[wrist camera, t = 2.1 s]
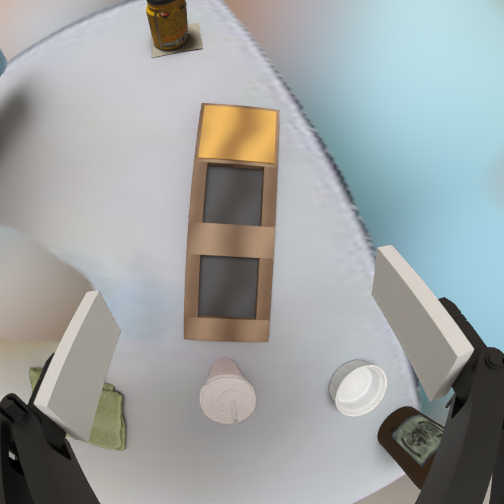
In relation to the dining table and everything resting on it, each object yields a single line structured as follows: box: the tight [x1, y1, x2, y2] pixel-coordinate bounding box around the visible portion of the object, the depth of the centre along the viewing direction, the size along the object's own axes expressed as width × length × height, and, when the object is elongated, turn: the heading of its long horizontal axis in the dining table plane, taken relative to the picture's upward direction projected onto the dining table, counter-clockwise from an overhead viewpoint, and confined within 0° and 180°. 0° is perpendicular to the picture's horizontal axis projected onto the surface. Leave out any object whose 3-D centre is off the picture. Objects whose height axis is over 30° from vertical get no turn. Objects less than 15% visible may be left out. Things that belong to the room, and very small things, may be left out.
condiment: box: [146, 0, 203, 57], centre depth 31 cm, size 7×8×12 cm
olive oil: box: [378, 407, 445, 490], centre depth 29 cm, size 11×11×25 cm
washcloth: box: [29, 368, 125, 450], centre depth 33 cm, size 13×18×3 cm
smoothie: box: [199, 358, 256, 424], centre depth 31 cm, size 6×6×14 cm
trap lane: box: [184, 103, 279, 342], centre depth 37 cm, size 11×32×2 cm, turn 177°
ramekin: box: [329, 360, 387, 417], centre depth 38 cm, size 9×9×4 cm
